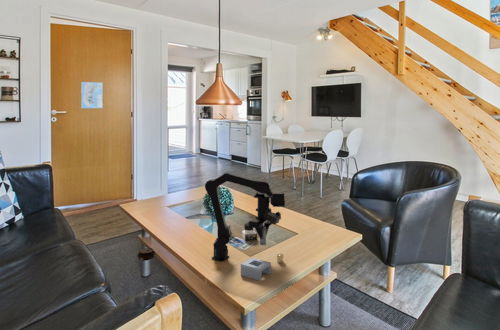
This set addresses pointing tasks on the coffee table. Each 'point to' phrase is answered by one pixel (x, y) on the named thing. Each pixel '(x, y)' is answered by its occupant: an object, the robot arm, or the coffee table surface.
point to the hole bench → (255, 268)
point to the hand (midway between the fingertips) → (263, 238)
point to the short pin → (279, 258)
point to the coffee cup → (146, 254)
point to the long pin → (263, 241)
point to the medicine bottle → (249, 233)
